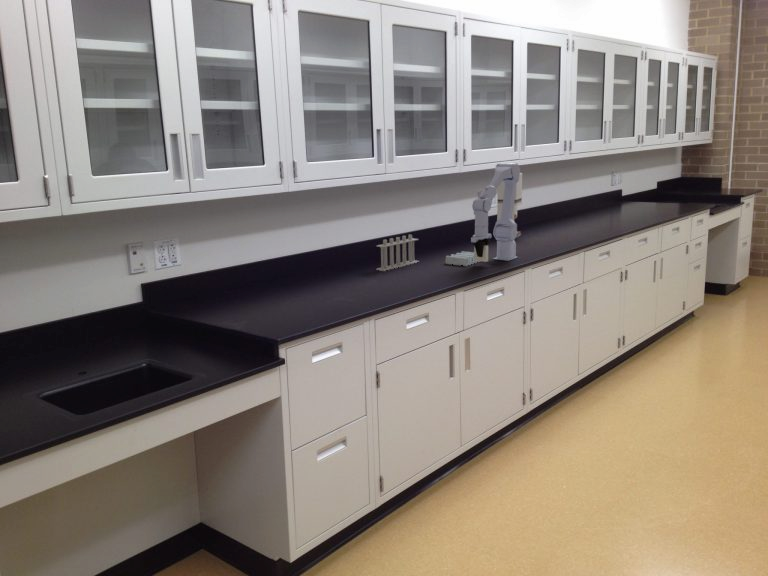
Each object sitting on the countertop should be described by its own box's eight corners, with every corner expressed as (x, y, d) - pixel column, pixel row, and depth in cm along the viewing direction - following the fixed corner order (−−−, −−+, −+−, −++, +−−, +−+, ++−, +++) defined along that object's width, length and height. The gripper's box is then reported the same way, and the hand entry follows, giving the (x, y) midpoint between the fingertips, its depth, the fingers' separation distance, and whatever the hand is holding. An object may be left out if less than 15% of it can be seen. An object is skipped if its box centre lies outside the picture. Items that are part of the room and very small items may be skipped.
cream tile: (476, 259, 301) (476, 244, 299) (488, 261, 297) (488, 245, 296) (474, 260, 299) (474, 245, 298) (485, 261, 296) (486, 246, 294)
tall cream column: (515, 238, 373) (516, 174, 365) (496, 237, 378) (497, 174, 370) (520, 235, 383) (522, 173, 375) (502, 234, 388) (503, 172, 380)
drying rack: (462, 258, 316) (462, 251, 315) (482, 261, 310) (482, 253, 309) (445, 263, 305) (445, 256, 304) (466, 266, 299) (466, 258, 298)
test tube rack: (411, 261, 313) (411, 233, 310) (419, 262, 310) (418, 234, 307) (376, 270, 294) (375, 240, 291) (384, 271, 292) (383, 241, 289)
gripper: (481, 223, 303) (481, 252, 306) (465, 227, 292) (464, 258, 295) (495, 224, 298) (495, 254, 302) (479, 228, 287) (478, 259, 291)
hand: (481, 256), depth 298 cm, fingers closed on cream tile, 2 cm apart
